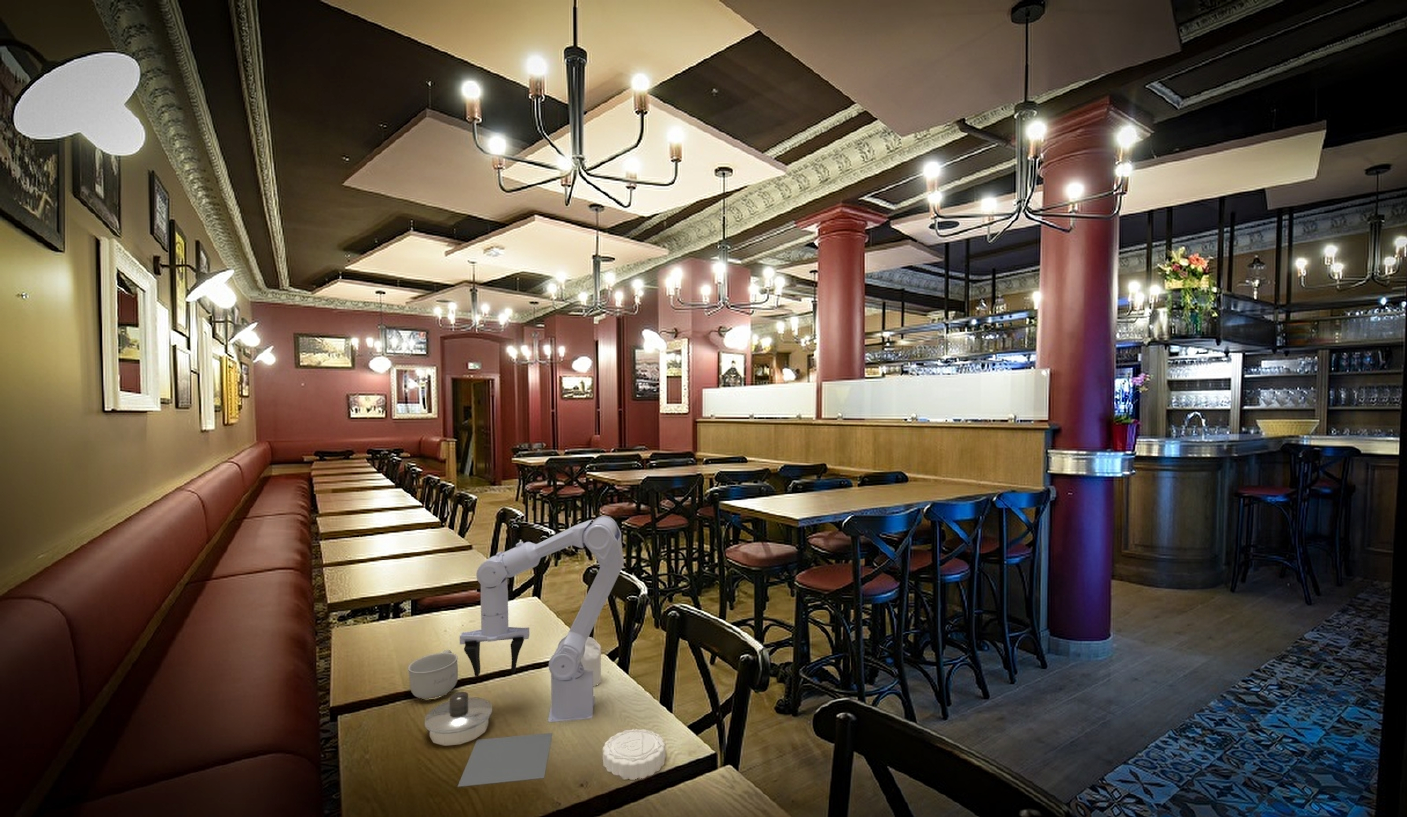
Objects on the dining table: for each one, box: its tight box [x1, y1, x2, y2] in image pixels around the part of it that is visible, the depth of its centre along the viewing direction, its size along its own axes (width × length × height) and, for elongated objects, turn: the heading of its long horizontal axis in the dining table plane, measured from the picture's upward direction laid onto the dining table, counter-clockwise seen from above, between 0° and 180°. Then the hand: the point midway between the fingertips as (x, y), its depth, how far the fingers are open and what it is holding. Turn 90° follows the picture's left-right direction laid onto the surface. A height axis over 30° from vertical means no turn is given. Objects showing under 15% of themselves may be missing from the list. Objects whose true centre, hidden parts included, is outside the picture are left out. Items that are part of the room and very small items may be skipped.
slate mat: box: [457, 732, 554, 788], centre depth 113 cm, size 15×15×1 cm
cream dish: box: [429, 718, 489, 747], centre depth 123 cm, size 11×11×4 cm
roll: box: [581, 636, 602, 687], centre depth 145 cm, size 6×12×6 cm
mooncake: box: [602, 728, 666, 781], centre depth 112 cm, size 12×12×4 cm
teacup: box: [407, 649, 459, 699], centre depth 141 cm, size 14×11×8 cm
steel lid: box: [424, 691, 493, 734], centre depth 122 cm, size 13×13×4 cm
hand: (495, 673), depth 130 cm, fingers open, 7 cm apart
